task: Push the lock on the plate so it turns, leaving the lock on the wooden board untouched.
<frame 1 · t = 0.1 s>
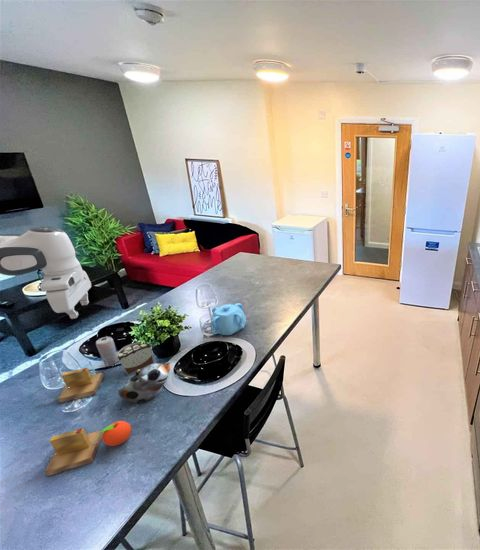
hand: (80, 310, 102), 32 cm above the table, tool pointing down, fingers open, 8 cm apart
left lock: (77, 378, 108), point 5 cm above the table, hinge at 0.0°
clementine: (118, 442, 92), on the table
energy drink: (113, 363, 123), on the table
food container: (138, 366, 122), on the table
decorative pot: (230, 329, 149), on the table
right lock: (70, 441, 85), point 5 cm above the table, hinge at 0.0°
lucky cat figurine: (150, 390, 111), on the table
left plate: (83, 388, 110), on the table
wooden board: (77, 453, 88), on the table
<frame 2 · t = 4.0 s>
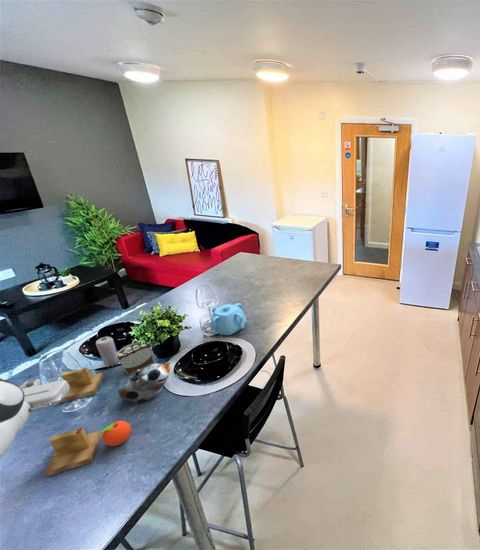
hand: (33, 381, 90), 18 cm above the table, tool horizontal, fingers closed
nothing on the table moved.
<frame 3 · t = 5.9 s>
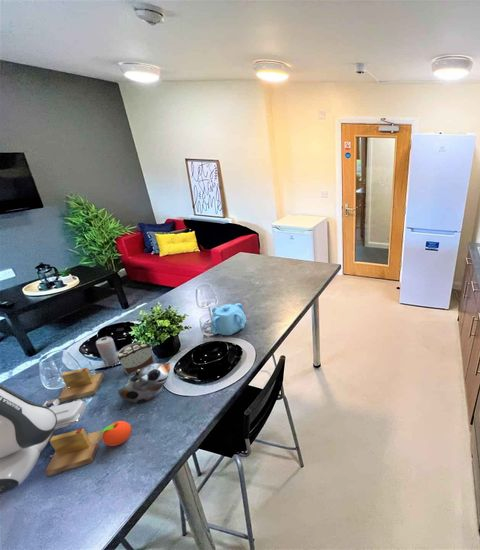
hand: (53, 401, 97), 6 cm above the table, tool horizontal, fingers closed
nothing on the table moved.
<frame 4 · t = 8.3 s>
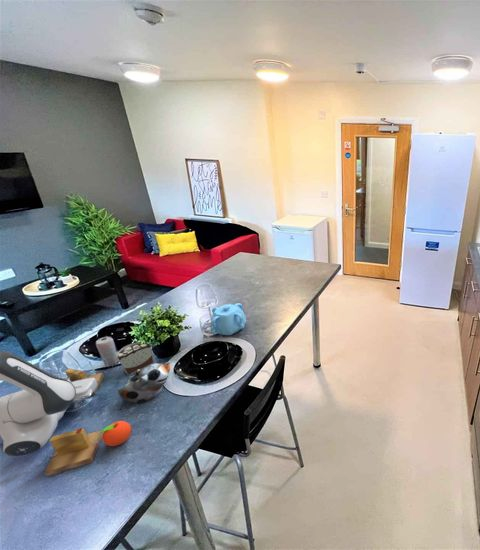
hand: (67, 378, 106), 6 cm above the table, tool horizontal, fingers closed
left lock: (77, 378, 108), point 5 cm above the table, hinge at -36.8°, touching gripper
everything else where it was.
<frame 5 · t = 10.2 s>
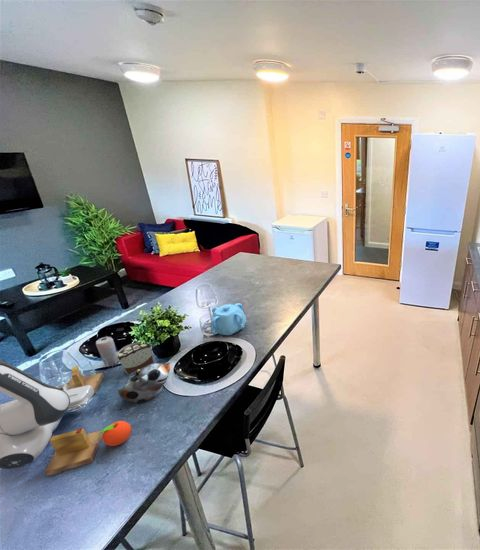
hand: (62, 386, 103), 6 cm above the table, tool horizontal, fingers closed
left lock: (77, 378, 108), point 5 cm above the table, hinge at -72.2°
everything else where it was.
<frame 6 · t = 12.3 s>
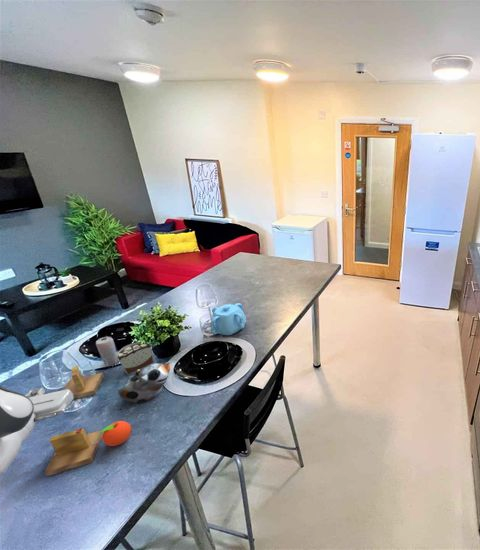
hand: (38, 390, 92), 14 cm above the table, tool horizontal, fingers closed
nothing on the table moved.
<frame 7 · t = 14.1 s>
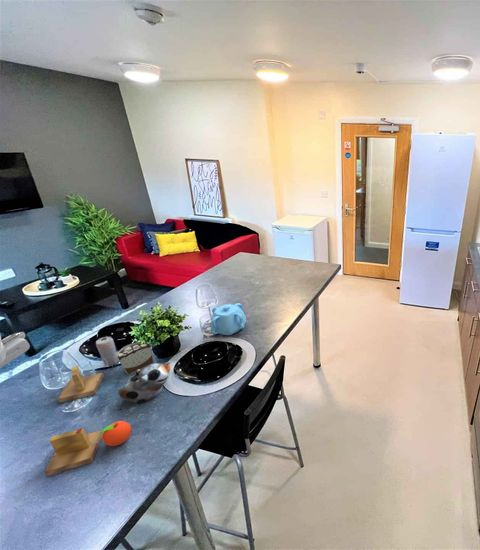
nothing on the table moved.
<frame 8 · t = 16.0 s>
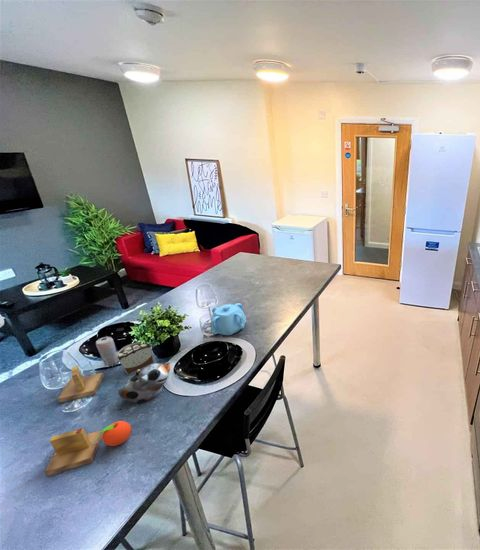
nothing on the table moved.
at the end: left lock at -72° (first picture: +0°); right lock at +0° (first picture: +0°) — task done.
